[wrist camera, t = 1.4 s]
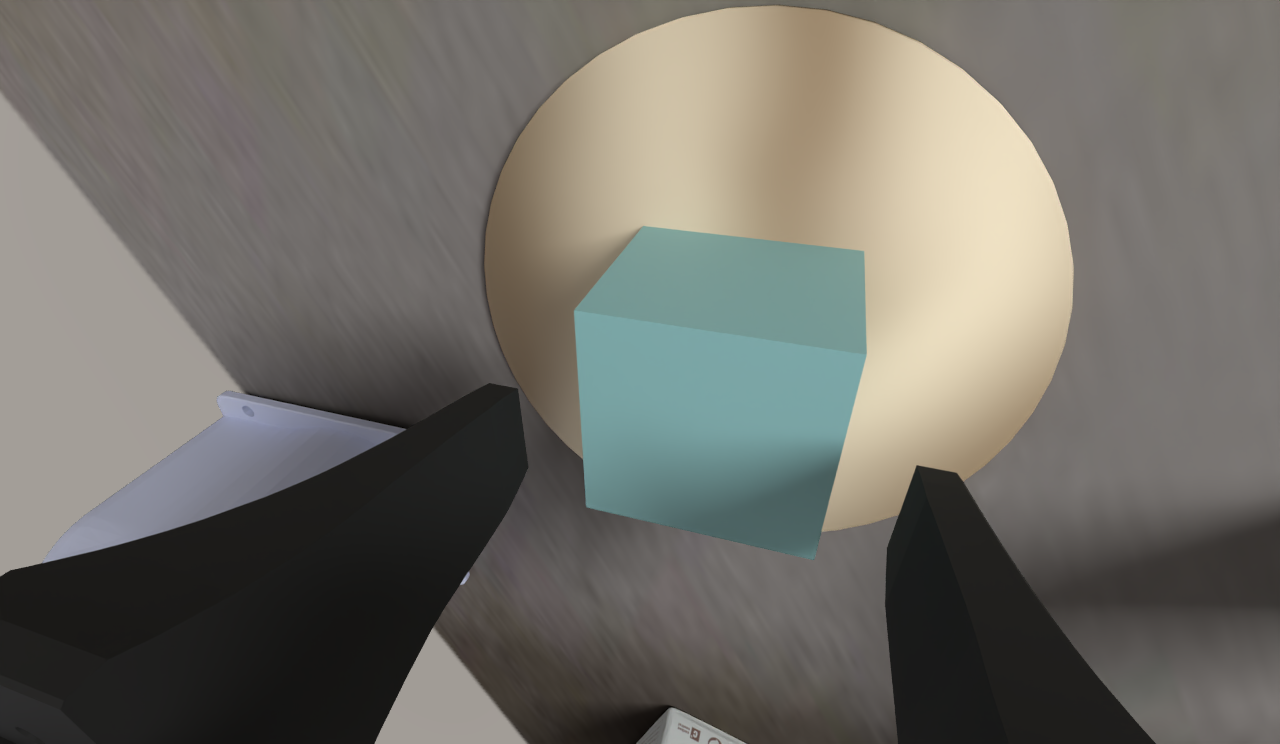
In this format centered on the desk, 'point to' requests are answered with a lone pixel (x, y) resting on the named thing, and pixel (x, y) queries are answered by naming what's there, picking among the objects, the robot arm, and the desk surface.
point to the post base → (802, 221)
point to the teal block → (721, 383)
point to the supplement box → (684, 731)
